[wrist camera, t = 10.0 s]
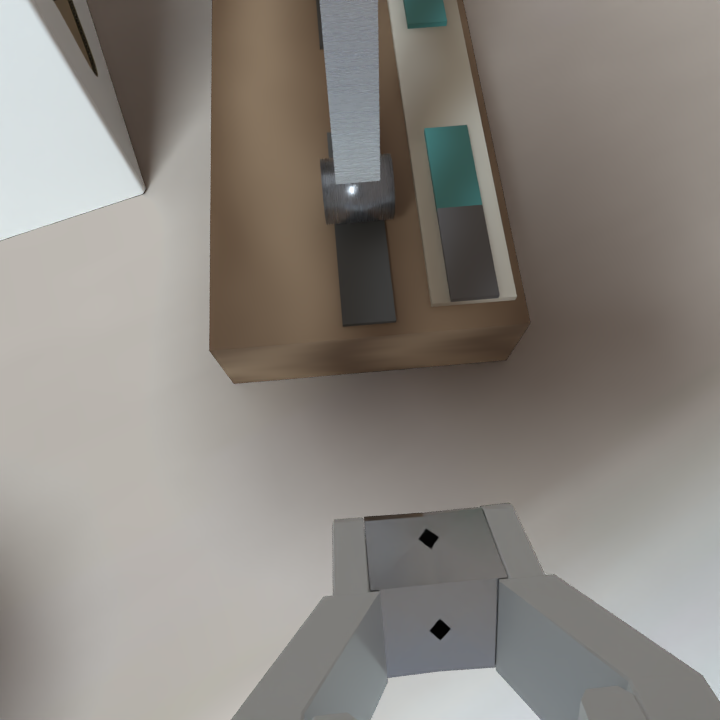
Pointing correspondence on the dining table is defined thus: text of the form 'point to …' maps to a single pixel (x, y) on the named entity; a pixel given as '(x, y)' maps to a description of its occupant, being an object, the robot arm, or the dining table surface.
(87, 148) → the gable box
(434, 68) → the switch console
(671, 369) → the dining table surface
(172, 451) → the dining table surface
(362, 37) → the lever
